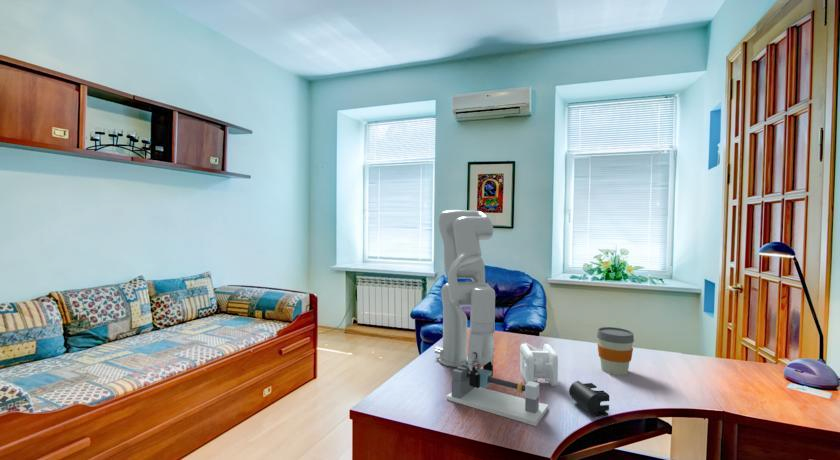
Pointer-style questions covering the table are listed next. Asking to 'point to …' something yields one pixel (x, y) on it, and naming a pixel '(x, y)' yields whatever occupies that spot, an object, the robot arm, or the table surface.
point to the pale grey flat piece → (533, 347)
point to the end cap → (589, 398)
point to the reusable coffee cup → (615, 349)
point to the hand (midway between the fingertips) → (481, 381)
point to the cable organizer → (539, 364)
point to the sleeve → (484, 377)
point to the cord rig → (498, 397)
